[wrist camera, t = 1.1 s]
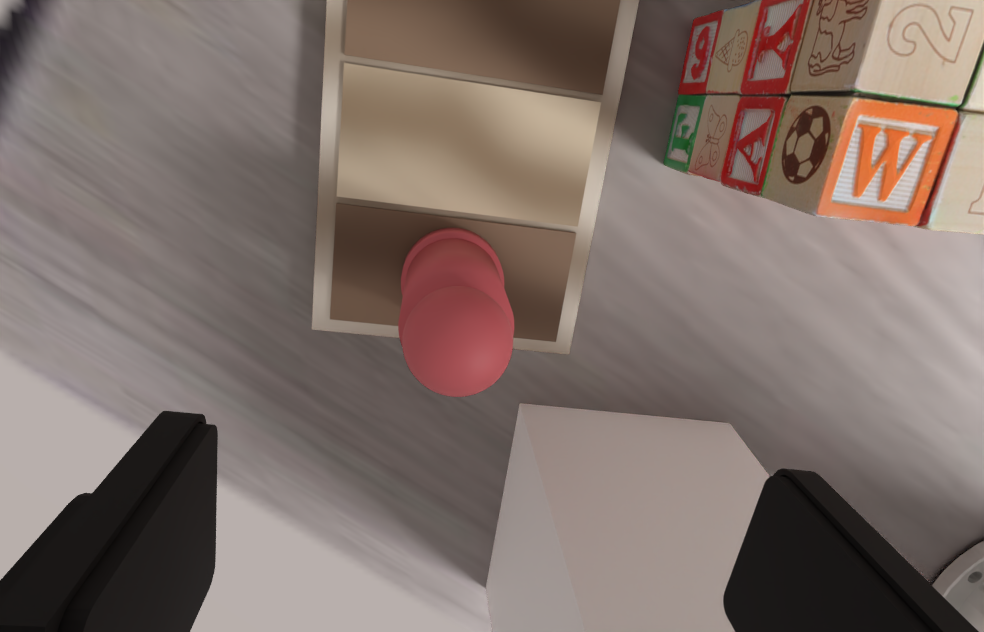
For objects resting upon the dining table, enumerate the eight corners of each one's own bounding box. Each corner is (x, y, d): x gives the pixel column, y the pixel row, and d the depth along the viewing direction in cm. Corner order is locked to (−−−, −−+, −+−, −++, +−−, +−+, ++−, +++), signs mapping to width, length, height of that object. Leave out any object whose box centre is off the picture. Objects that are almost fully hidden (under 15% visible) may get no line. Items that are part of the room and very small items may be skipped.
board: (564, 344, 30) (570, 356, 29) (316, 320, 28) (310, 331, 27) (674, -224, 22) (689, -244, 21) (346, -299, 21) (340, -326, 20)
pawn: (493, 327, 28) (520, 434, 19) (398, 317, 27) (379, 423, 18) (508, 234, 26) (544, 302, 18) (407, 221, 26) (392, 285, 17)
